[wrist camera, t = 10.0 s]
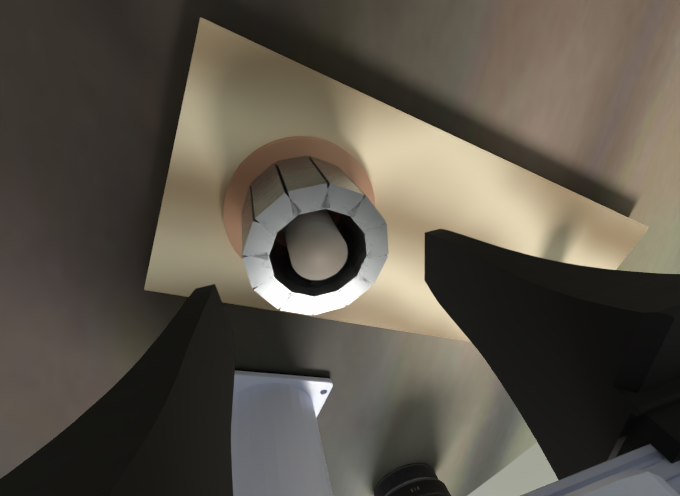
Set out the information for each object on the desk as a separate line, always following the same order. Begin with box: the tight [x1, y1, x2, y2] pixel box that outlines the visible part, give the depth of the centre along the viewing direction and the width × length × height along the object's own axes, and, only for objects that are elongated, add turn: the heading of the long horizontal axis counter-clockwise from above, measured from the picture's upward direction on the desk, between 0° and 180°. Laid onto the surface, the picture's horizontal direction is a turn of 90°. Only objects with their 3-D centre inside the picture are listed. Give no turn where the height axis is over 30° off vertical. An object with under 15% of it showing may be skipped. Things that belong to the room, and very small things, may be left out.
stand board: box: [144, 17, 649, 342], centre depth 19 cm, size 12×30×6 cm, turn 67°
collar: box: [241, 155, 389, 315], centre depth 14 cm, size 5×5×4 cm
